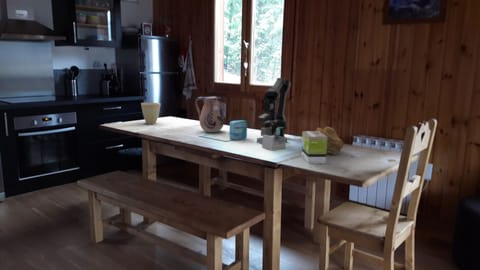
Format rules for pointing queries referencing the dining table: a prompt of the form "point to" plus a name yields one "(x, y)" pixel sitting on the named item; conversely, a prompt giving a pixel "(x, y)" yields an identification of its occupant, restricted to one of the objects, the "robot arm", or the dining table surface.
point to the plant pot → (150, 112)
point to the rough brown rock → (332, 140)
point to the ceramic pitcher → (210, 114)
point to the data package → (238, 130)
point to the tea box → (314, 146)
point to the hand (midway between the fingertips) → (270, 133)
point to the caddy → (269, 131)
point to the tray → (276, 139)
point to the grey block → (271, 143)
